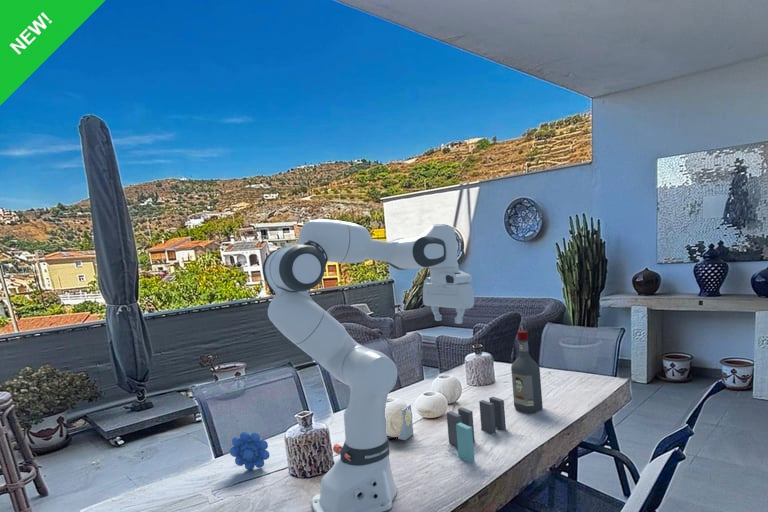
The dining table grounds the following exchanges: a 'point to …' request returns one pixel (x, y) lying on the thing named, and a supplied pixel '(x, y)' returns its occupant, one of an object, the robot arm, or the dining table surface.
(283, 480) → the dining table surface
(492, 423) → the domino
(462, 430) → the domino
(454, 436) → the domino
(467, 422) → the domino
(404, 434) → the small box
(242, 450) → the blue flower
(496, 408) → the domino
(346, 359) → the robot arm
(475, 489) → the dining table surface
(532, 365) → the liquor
